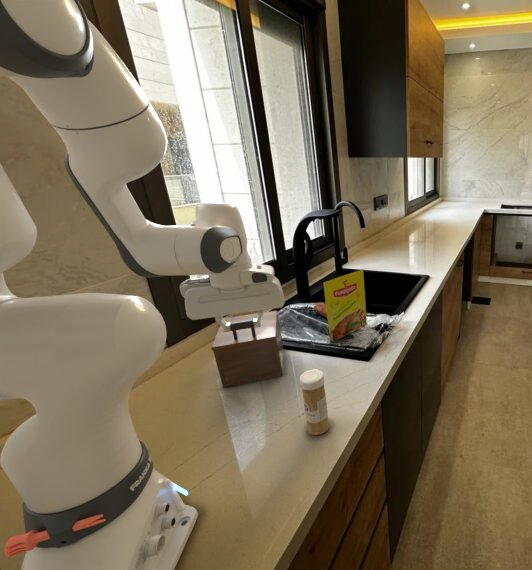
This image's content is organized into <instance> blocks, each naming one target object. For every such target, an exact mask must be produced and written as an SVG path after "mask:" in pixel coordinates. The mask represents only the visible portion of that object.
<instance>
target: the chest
mask: <svg viewBox="0 0 532 570" xmlns="http://www.w3.org/2000/svg"><path fill="white" fill-rule="evenodd" d="M281 331H282V329H281V325H280V319H279V314H278V312H277V331H276V339H275V340H269V341H263V342H258V343H252V344H246V345H240V346H235V347H229V348H223V349H217V350H212V352H213V355H214V359H215V363H216V366H217V370H218V374H219V377H220V382H221V385H222V388H227V387H228V388H229V387H233V386H239V385H242V384H243V385H244V384H246V383H247V384H248V383H252V382H256V381H257V382H258V381H261V380H262V381H263V380H266V379H271V378H275V377H281V376H283V375H284V342H283V335H282V332H281Z"/></svg>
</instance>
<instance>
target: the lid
mask: <svg viewBox="0 0 532 570" xmlns="http://www.w3.org/2000/svg"><path fill="white" fill-rule="evenodd" d="M277 313H278V310H271V311H264V312H263V316H262V318H261V327H255V328H254V324H253V320H254V319H255V318H257V317H258V315H257V313H251V314H243V315H236V316H230V317H229V316H228V317H223V319H224V320H225V321H226V322H227V323H228V322H231V323H230V329H231V331H229V332H224V329H223V326H221V325H220V324H219V328H218V330H217V332H216V335H215V337H214V339H213V342H212V344H211V347H210V349H211V351H213V350H217V349H223V348H229V347H235V346H240V345H246V344H252V343H258V342H263V341H269V340H275V339H276V331H277Z"/></svg>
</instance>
